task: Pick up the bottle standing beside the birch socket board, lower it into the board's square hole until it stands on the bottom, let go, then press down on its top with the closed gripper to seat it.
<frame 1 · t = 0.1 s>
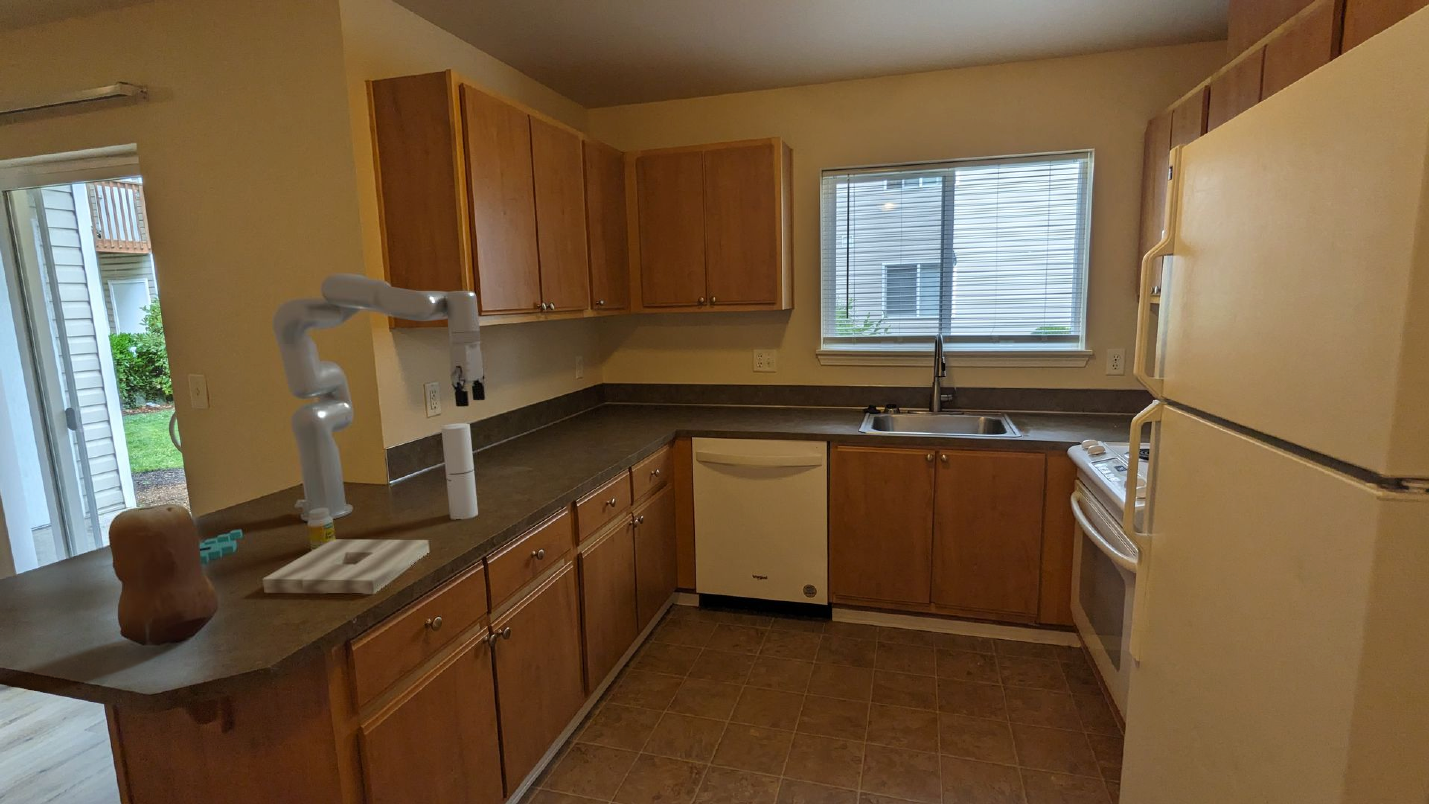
hand: (471, 403, 178), 31 cm above the countertop, tool pointing down, fingers open, 9 cm apart
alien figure: (185, 559, 160), on the countertop
cylindrical container: (464, 515, 184), on the countertop
supplement bottle: (324, 548, 162), on the countertop
socket board: (352, 571, 148), on the countertop
butternut squash: (174, 641, 120), on the countertop
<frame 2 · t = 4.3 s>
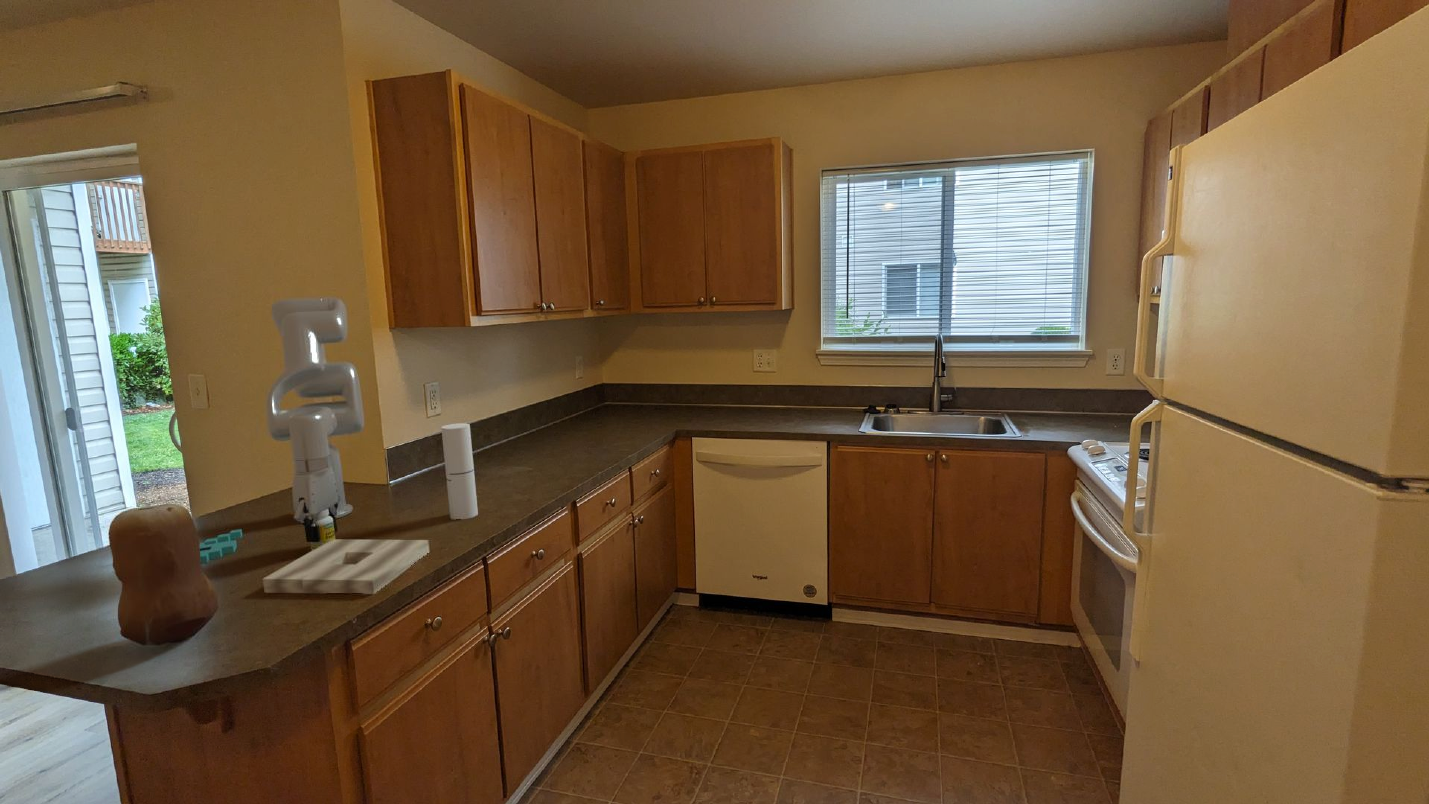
hand: (322, 536, 162), 3 cm above the countertop, tool pointing down, fingers closed on supplement bottle, 5 cm apart
supplement bottle: (324, 548, 162), on the countertop, touching gripper
everything else where it was.
when the fingers open (4 cm above the countertop, at t = 10.0 s): supplement bottle drops 1 cm, resting in socket board.
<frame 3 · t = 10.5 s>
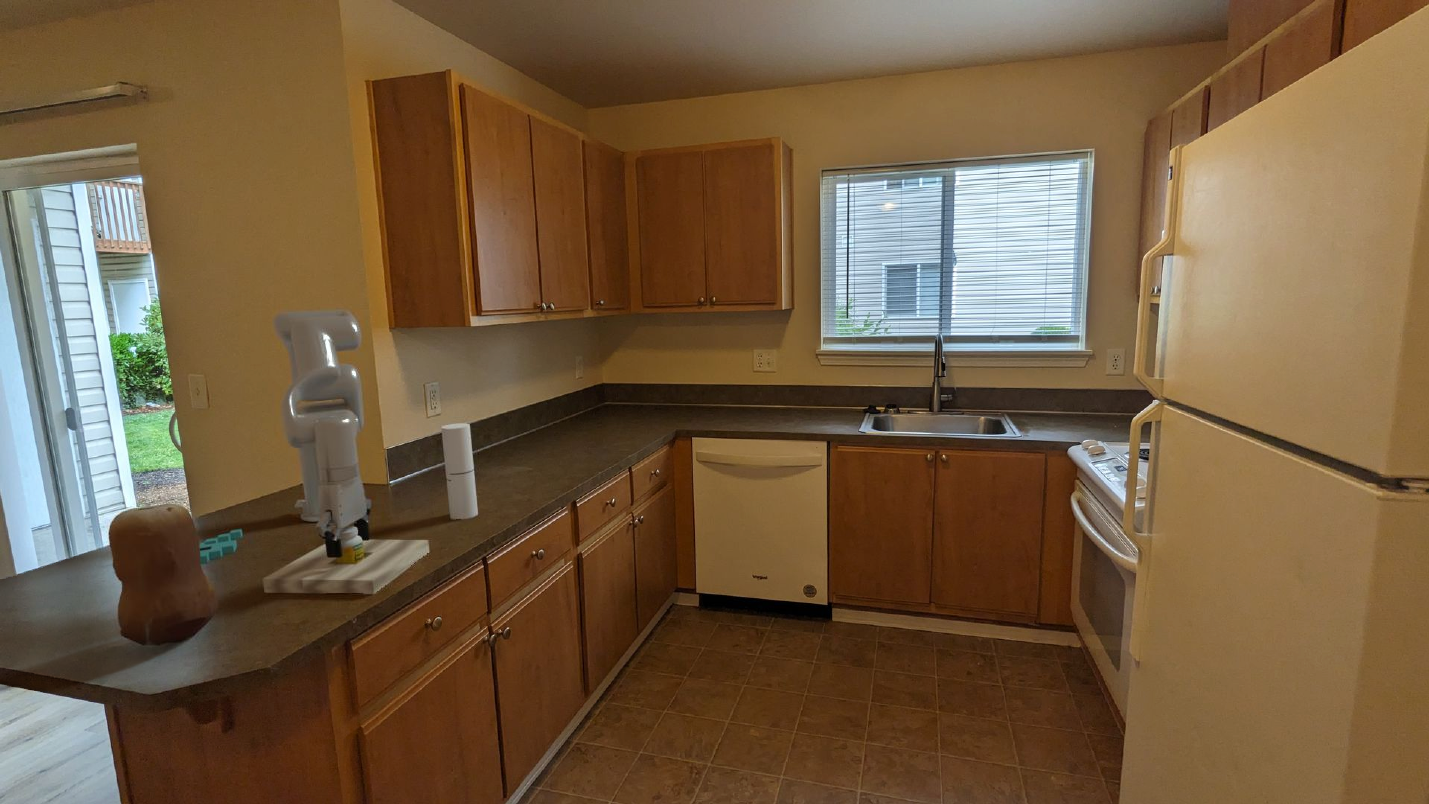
hand: (349, 548, 147), 5 cm above the countertop, tool pointing down, fingers open, 9 cm apart
supplement bottle: (352, 571, 148), resting in socket board
everything else where it was.
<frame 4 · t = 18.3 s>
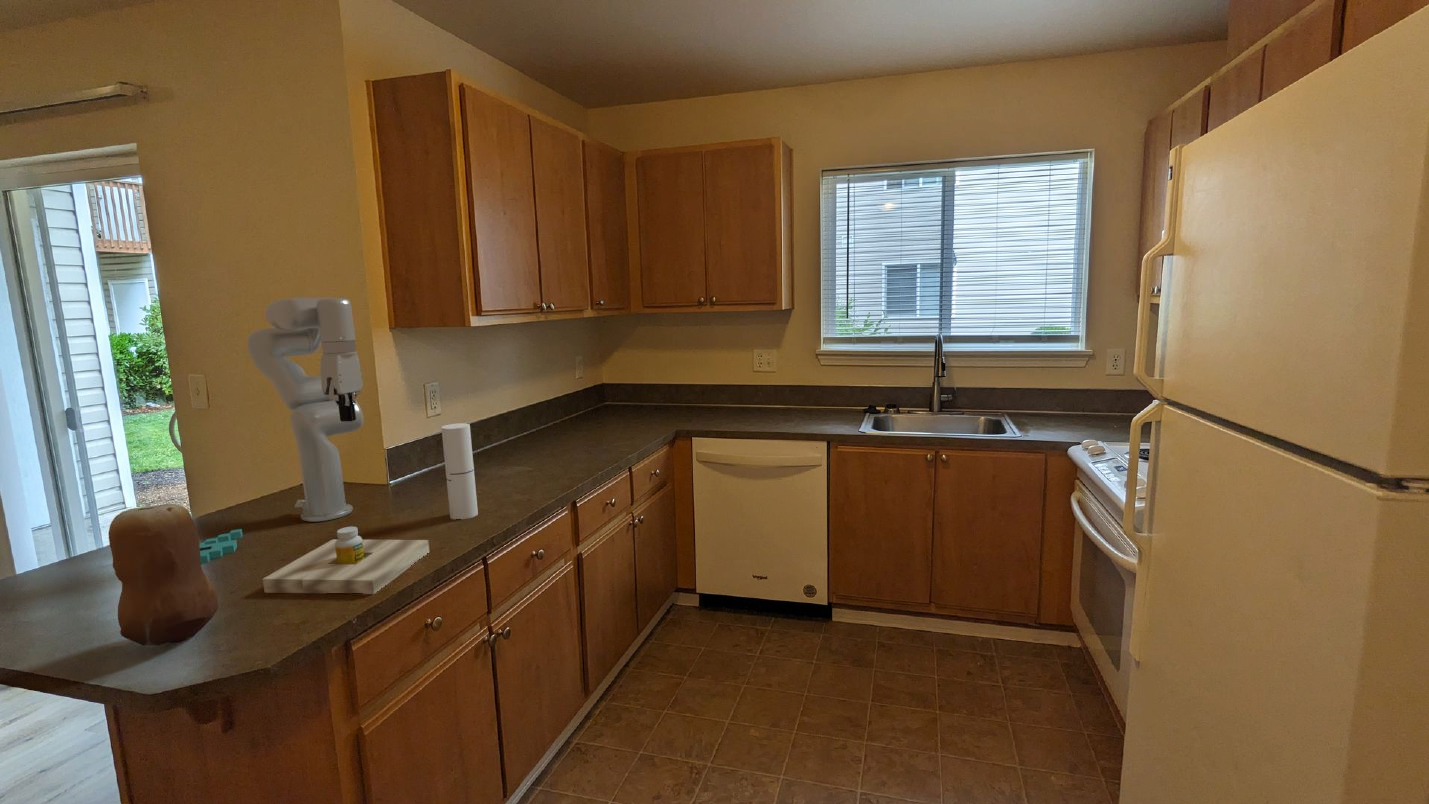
hand: (348, 420, 169), 29 cm above the countertop, tool pointing down, fingers closed
nothing on the countertop moved.
at the end: supplement bottle 0.2 cm off-centre on the socket board, point 0.0 cm above the socket board's base; supplement bottle tilted 0°; the gripper is holding nothing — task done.
